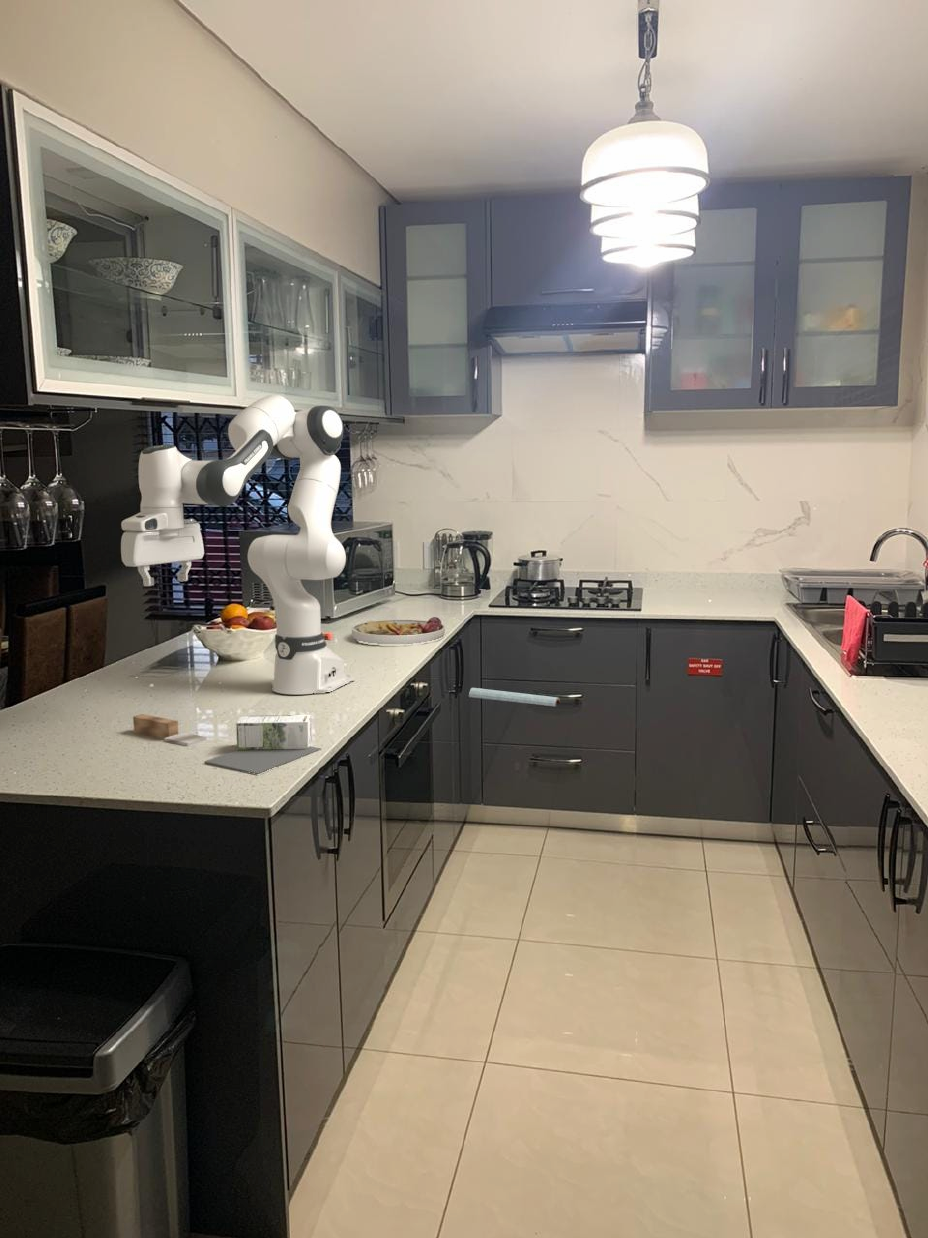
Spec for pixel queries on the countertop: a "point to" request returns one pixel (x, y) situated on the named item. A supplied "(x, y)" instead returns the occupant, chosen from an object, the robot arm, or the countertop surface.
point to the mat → (259, 759)
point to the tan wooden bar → (164, 730)
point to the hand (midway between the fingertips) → (166, 583)
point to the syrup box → (274, 732)
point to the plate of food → (399, 631)
